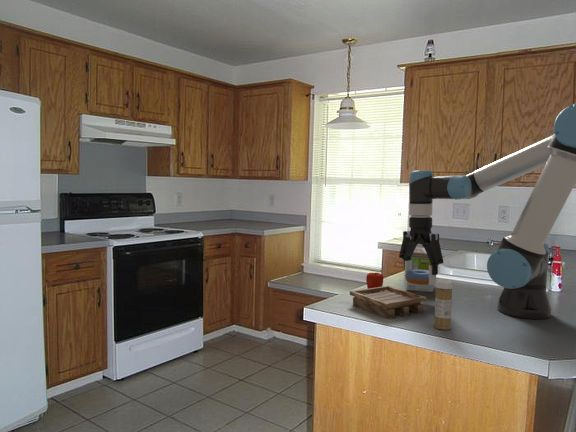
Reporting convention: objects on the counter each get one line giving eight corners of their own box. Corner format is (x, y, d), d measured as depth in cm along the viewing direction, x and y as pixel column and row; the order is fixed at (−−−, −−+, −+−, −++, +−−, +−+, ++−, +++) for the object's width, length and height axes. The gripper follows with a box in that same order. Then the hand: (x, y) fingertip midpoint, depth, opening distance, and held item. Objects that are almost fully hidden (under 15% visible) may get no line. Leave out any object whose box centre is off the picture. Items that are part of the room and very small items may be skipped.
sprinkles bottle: (446, 325, 126) (448, 278, 125) (453, 330, 121) (455, 282, 120) (431, 325, 126) (433, 278, 125) (437, 330, 121) (439, 282, 120)
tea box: (434, 292, 164) (435, 253, 163) (406, 290, 166) (407, 252, 165) (429, 283, 179) (431, 247, 178) (404, 282, 181) (405, 246, 180)
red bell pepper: (374, 295, 158) (374, 275, 157) (362, 291, 163) (362, 271, 162) (386, 293, 161) (387, 273, 160) (374, 289, 166) (375, 270, 166)
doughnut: (413, 277, 157) (413, 264, 156) (440, 282, 151) (440, 269, 150) (400, 284, 150) (400, 271, 149) (428, 290, 143) (428, 276, 142)
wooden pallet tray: (425, 311, 139) (426, 297, 138) (385, 319, 130) (386, 303, 130) (387, 299, 153) (388, 285, 153) (349, 305, 144) (349, 291, 144)
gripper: (456, 217, 141) (455, 286, 142) (403, 214, 160) (403, 275, 161) (440, 218, 137) (439, 289, 138) (388, 215, 156) (388, 277, 157)
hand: (420, 281), depth 150 cm, fingers closed on doughnut, 10 cm apart
